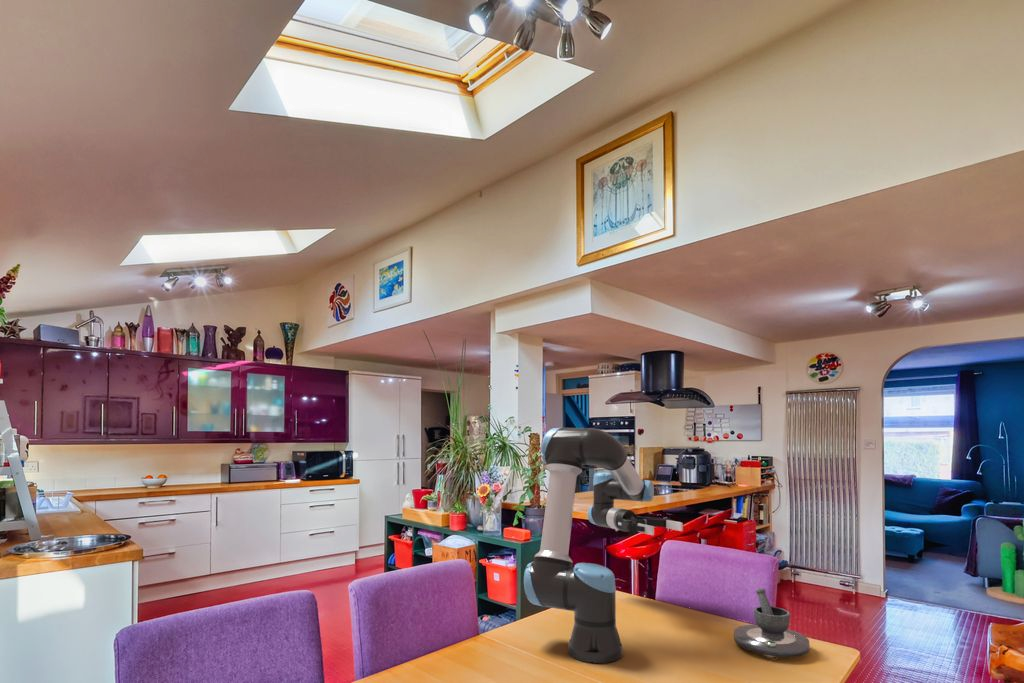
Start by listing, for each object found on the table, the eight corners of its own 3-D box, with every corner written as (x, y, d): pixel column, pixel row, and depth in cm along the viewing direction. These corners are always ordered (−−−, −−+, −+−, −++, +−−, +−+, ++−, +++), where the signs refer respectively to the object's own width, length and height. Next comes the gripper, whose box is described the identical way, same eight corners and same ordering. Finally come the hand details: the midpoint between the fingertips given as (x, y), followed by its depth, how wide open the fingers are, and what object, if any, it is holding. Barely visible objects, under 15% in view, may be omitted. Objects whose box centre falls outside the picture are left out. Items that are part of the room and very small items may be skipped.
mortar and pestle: (798, 641, 169) (796, 596, 171) (768, 643, 168) (766, 598, 169) (774, 627, 180) (772, 586, 182) (745, 629, 179) (743, 587, 180)
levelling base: (783, 668, 160) (782, 650, 160) (719, 645, 176) (719, 628, 177) (824, 653, 170) (823, 636, 171) (761, 632, 187) (760, 617, 188)
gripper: (647, 527, 221) (693, 536, 203) (595, 533, 207) (640, 544, 190) (646, 506, 222) (692, 514, 204) (595, 511, 208) (640, 520, 190)
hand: (667, 528), depth 197 cm, fingers open, 13 cm apart
